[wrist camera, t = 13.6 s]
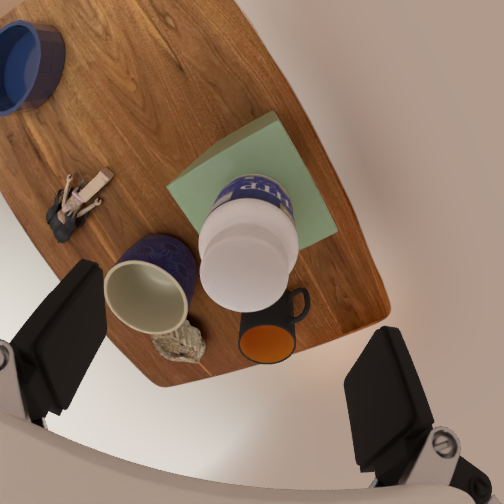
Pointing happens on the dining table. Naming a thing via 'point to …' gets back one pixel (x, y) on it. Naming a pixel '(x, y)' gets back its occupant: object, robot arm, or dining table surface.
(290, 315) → the mug
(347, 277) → the dining table surface
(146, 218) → the dining table surface
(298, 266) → the dining table surface
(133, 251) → the planter
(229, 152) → the stand
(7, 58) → the bowl
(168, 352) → the seashell
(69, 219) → the toy figure
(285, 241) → the pill bottle
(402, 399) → the robot arm
